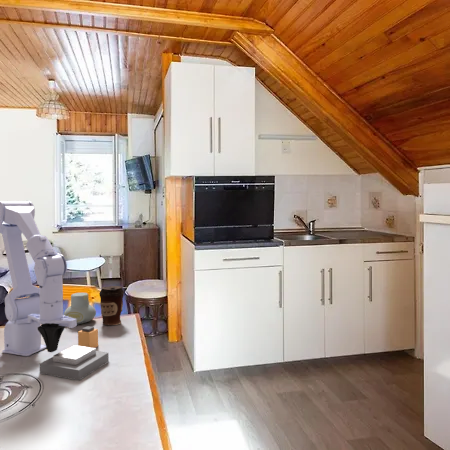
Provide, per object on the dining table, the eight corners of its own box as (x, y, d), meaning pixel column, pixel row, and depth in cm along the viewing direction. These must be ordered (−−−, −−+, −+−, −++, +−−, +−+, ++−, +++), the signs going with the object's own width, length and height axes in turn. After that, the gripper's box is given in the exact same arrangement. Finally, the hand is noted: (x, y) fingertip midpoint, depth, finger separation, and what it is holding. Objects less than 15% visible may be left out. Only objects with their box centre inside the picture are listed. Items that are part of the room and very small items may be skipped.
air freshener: (99, 318, 148) (99, 292, 147) (89, 325, 139) (89, 297, 139) (71, 317, 149) (70, 291, 148) (59, 324, 141) (59, 296, 140)
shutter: (53, 361, 102) (53, 355, 102) (74, 350, 110) (74, 345, 109) (75, 365, 100) (75, 359, 100) (96, 353, 107) (95, 348, 107)
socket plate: (39, 373, 101) (39, 363, 101) (72, 355, 112) (72, 347, 112) (79, 380, 97) (78, 370, 97) (108, 361, 109) (108, 352, 108)
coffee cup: (117, 328, 137) (116, 290, 136) (94, 326, 139) (94, 289, 138) (128, 320, 146) (127, 285, 145) (107, 319, 147) (106, 284, 146)
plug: (78, 349, 118) (77, 329, 117) (87, 344, 122) (86, 325, 121) (89, 350, 116) (89, 330, 116) (98, 346, 120) (97, 326, 120)
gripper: (17, 301, 105) (19, 352, 106) (62, 307, 100) (64, 360, 101) (38, 295, 111) (39, 343, 112) (81, 300, 107) (82, 350, 107)
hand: (52, 350), depth 107 cm, fingers closed
